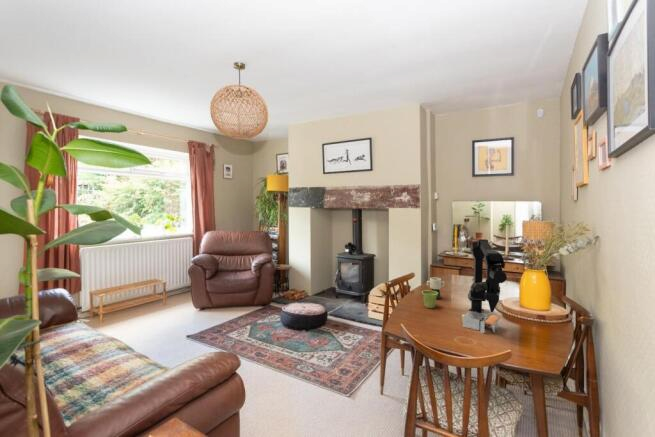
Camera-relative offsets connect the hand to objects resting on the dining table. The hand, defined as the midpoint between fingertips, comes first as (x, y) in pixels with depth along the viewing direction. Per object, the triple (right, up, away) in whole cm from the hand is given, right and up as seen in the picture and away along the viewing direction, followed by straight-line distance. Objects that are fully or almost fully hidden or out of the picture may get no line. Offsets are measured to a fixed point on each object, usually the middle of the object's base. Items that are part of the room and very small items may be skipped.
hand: (492, 309), depth 163 cm
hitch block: (-4, -10, +4) cm, 12 cm away
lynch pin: (-6, -10, +6) cm, 13 cm away
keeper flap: (0, -6, +1) cm, 6 cm away
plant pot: (-20, -9, +37) cm, 42 cm away
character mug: (-11, -8, +53) cm, 54 cm away
